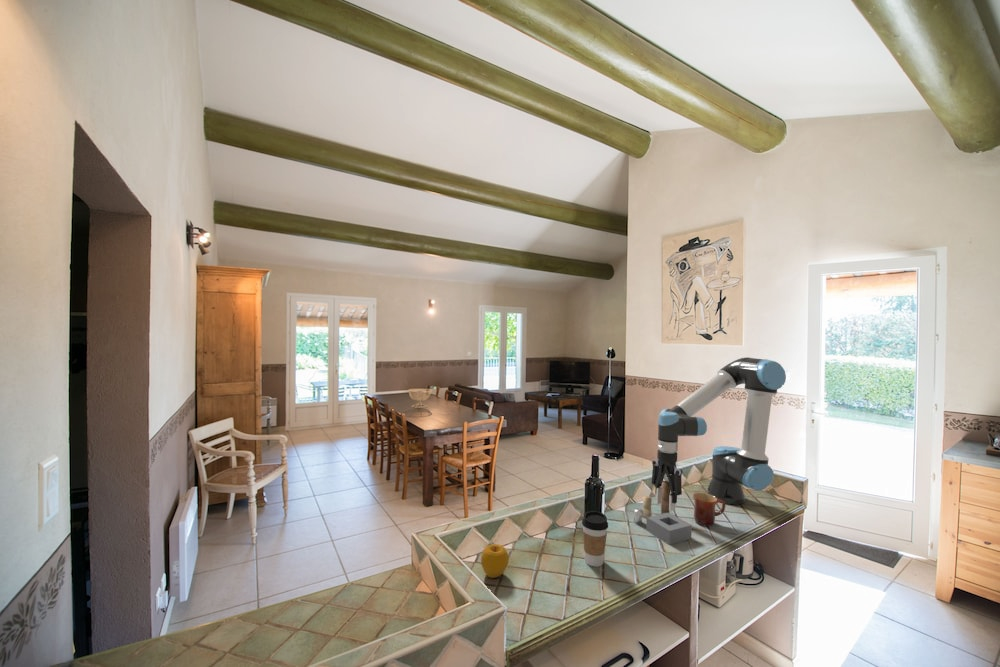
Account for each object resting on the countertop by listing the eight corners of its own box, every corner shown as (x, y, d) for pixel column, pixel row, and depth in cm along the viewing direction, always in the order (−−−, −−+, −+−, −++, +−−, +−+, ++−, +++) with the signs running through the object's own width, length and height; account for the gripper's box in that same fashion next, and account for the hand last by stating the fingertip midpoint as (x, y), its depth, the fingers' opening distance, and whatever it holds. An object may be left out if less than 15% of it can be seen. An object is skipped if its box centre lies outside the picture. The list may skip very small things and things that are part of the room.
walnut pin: (665, 513, 172) (666, 480, 172) (671, 517, 169) (672, 483, 169) (659, 515, 171) (660, 481, 171) (665, 518, 168) (666, 484, 168)
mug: (696, 527, 161) (697, 501, 161) (688, 516, 170) (689, 492, 170) (729, 529, 160) (730, 503, 160) (719, 519, 169) (720, 493, 169)
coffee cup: (608, 557, 139) (609, 512, 139) (605, 571, 131) (607, 524, 131) (582, 552, 142) (583, 508, 141) (579, 565, 134) (580, 519, 133)
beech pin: (646, 514, 171) (647, 495, 171) (652, 517, 168) (653, 498, 168) (640, 515, 170) (641, 496, 170) (646, 519, 167) (647, 499, 167)
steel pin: (638, 520, 166) (638, 507, 166) (644, 523, 163) (644, 511, 163) (631, 521, 165) (632, 509, 165) (637, 525, 162) (638, 512, 162)
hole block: (667, 525, 163) (668, 512, 162) (691, 538, 153) (691, 525, 153) (646, 530, 158) (646, 517, 158) (669, 544, 148) (669, 530, 148)
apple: (499, 587, 122) (500, 557, 122) (474, 578, 126) (475, 549, 126) (512, 572, 129) (513, 544, 129) (489, 564, 134) (489, 537, 133)
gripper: (643, 445, 176) (641, 499, 177) (679, 458, 159) (677, 518, 160) (656, 443, 180) (654, 496, 180) (693, 456, 162) (691, 515, 163)
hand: (665, 506), depth 170 cm, fingers open, 6 cm apart
